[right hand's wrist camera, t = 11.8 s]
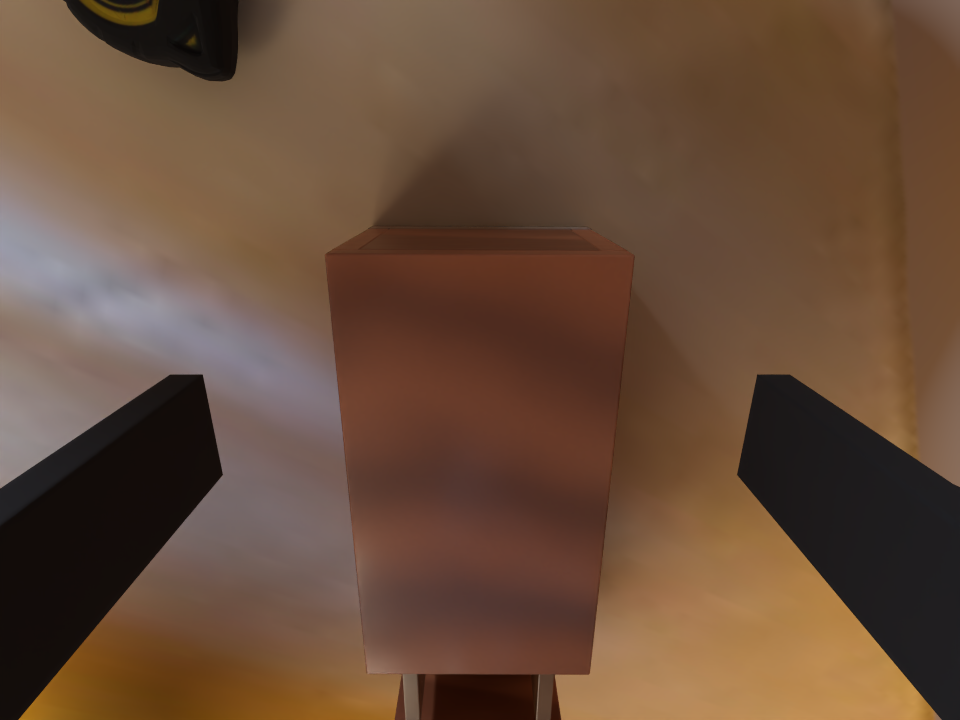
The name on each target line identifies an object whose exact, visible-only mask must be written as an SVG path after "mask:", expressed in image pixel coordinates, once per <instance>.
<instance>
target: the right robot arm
mask: <svg viewBox="0 0 960 720" xmlns="http://www.w3.org/2000/svg"><path fill="white" fill-rule="evenodd" d="M222 475H223V473H222V468H221V463H220V458H219V454H218V449H217V444H216V439H215V434H214V429H213V424H212V419H211V414H210V409H209V404H208V399H207V394H206V389H205V384H204V379H203V375H169V376H168V377H166V378H165V379H163V380H162V381H160V382H159V383H157V384H156V385H154V386H153V387H151V388H150V389H148V390H147V391H145V392H144V393H142V394H141V395H139V396H138V397H136V398H135V399H133V400H132V401H130V402H129V403H127V404H126V405H124V406H123V407H121V408H120V409H118V410H117V411H115V412H114V413H112V414H111V415H109V416H108V417H106V418H105V419H103V420H102V421H100V422H99V423H97V424H96V425H94V426H93V427H91V428H90V429H88V430H87V431H85V432H84V433H82V434H81V435H80V436H78V437H77V438H75V439H74V440H72V441H71V442H69V443H68V444H66V445H65V446H63V447H62V448H60V449H59V450H57V451H56V452H54V453H53V454H51V455H50V456H48V457H47V458H45V459H44V460H42V461H41V462H39V463H38V464H36V465H35V466H33V467H32V468H30V469H29V470H27V471H26V472H24V473H23V474H21V475H20V476H18V477H17V478H15V479H14V480H12V481H11V482H9V483H8V484H6V485H5V486H3V487H2V488H0V720H18V719H19V718H20V717H21V716H22V715H23V713H24V712H25V711H26V710H27V709H28V707H29V706H30V705H31V704H32V703H33V701H34V700H35V699H36V698H37V697H38V695H39V694H40V693H41V692H42V691H43V689H44V688H45V687H46V686H47V685H48V683H49V682H50V681H51V680H52V679H53V677H54V676H55V675H56V674H57V673H58V671H59V670H60V669H61V668H62V667H63V666H64V664H65V663H66V662H67V661H68V660H69V658H70V657H71V656H72V655H73V654H74V652H75V651H76V650H77V649H78V648H79V646H80V645H81V644H82V643H83V642H84V640H85V639H86V638H87V637H88V636H89V634H90V633H91V632H92V631H93V630H94V628H95V627H96V626H97V625H98V624H99V622H100V621H101V620H102V619H103V618H104V616H105V615H106V614H107V613H108V612H109V610H110V609H111V608H112V607H113V606H114V604H115V603H116V602H117V601H118V600H119V598H120V597H121V596H122V595H123V594H124V592H125V591H126V590H127V589H128V588H129V587H130V585H131V584H132V583H133V582H134V581H135V579H136V578H137V577H138V576H139V575H140V573H141V572H142V571H143V570H144V569H145V567H146V566H147V565H148V564H149V563H150V561H151V560H152V559H153V558H154V557H155V555H156V554H157V553H158V552H159V551H160V549H161V548H162V547H163V546H164V545H165V543H166V542H167V541H168V540H169V539H170V537H171V536H172V535H173V534H174V533H175V531H176V530H177V529H178V528H179V527H180V525H181V524H182V523H183V522H184V521H185V519H186V518H187V517H188V516H189V515H190V514H191V512H192V511H193V510H194V509H195V508H196V506H197V505H198V504H199V503H200V502H201V500H202V499H203V498H204V497H205V496H206V494H207V493H208V492H209V491H210V490H211V488H212V487H213V486H214V485H215V484H216V482H217V481H218V480H219V479H220V478H221V476H222ZM737 475H738V476H739V478H740V479H741V480H742V481H743V482H744V484H745V485H746V486H747V487H748V488H749V490H750V491H751V492H752V493H753V494H754V496H755V497H756V498H757V499H758V500H759V502H760V503H761V504H762V505H763V506H764V508H765V509H766V510H767V511H768V512H769V514H770V515H771V516H772V517H773V518H774V519H775V521H776V522H777V523H778V524H779V525H780V527H781V528H782V529H783V530H784V531H785V533H786V534H787V535H788V536H789V537H790V539H791V540H792V541H793V542H794V543H795V545H796V546H797V547H798V548H799V549H800V551H801V552H802V553H803V554H804V555H805V557H806V558H807V559H808V560H809V561H810V563H811V564H812V565H813V566H814V567H815V569H816V570H817V571H818V572H819V573H820V575H821V576H822V577H823V578H824V579H825V581H826V582H827V583H828V584H829V585H830V587H831V588H832V589H833V590H834V591H835V592H836V594H837V595H838V596H839V597H840V598H841V600H842V601H843V602H844V603H845V604H846V606H847V607H848V608H849V609H850V610H851V612H852V613H853V614H854V615H855V616H856V618H857V619H858V620H859V621H860V622H861V624H862V625H863V626H864V627H865V628H866V630H867V631H868V632H869V633H870V634H871V636H872V637H873V638H874V639H875V640H876V642H877V643H878V644H879V645H880V646H881V648H882V649H883V650H884V651H885V652H886V654H887V655H888V656H889V657H890V658H891V660H892V661H893V662H894V663H895V664H896V666H897V667H898V668H899V669H900V670H901V671H902V673H903V674H904V675H905V676H906V677H907V679H908V680H909V681H910V682H911V683H912V685H913V686H914V687H915V688H916V689H917V691H918V692H919V693H920V694H921V695H922V697H923V698H924V699H925V700H926V701H927V703H928V704H929V705H930V706H931V707H932V709H933V710H934V711H935V712H936V713H937V715H938V716H939V717H940V718H941V719H942V720H960V487H958V486H956V485H954V484H952V483H951V482H949V481H948V480H946V479H945V478H943V477H942V476H940V475H939V474H937V473H936V472H934V471H933V470H931V469H930V468H928V467H927V466H925V465H924V464H922V463H921V462H919V461H918V460H916V459H915V458H913V457H912V456H910V455H909V454H907V453H906V452H904V451H903V450H901V449H900V448H898V447H897V446H895V445H894V444H892V443H891V442H889V441H888V440H886V439H885V438H883V437H882V436H880V435H879V434H878V433H876V432H875V431H873V430H872V429H870V428H869V427H867V426H866V425H864V424H863V423H861V422H860V421H858V420H857V419H855V418H854V417H852V416H851V415H849V414H848V413H846V412H845V411H843V410H842V409H840V408H839V407H837V406H836V405H834V404H833V403H831V402H830V401H828V400H827V399H825V398H824V397H822V396H821V395H819V394H818V393H816V392H815V391H813V390H812V389H810V388H809V387H807V386H806V385H804V384H803V383H801V382H800V381H798V380H797V379H795V378H794V377H792V376H791V375H757V379H756V384H755V389H754V394H753V399H752V404H751V409H750V414H749V419H748V424H747V429H746V434H745V439H744V444H743V449H742V454H741V458H740V463H739V468H738V473H737Z"/></svg>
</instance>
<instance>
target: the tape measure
mask: <svg viewBox="0 0 960 720" xmlns="http://www.w3.org/2000/svg"><path fill="white" fill-rule="evenodd" d="M64 1H65V2H66V3H67V6H68V8H69V9H70V11H71V12H72V13H73V15H74V16H75V17H76V18H77V19H78V20H79V22H80V23H81V24H82V25H83V26H85V27H86V28H87V29H88V30H89V31H90V32H91V33H93V34H94V35H95V36H97V37H98V38H99V39H101V40H103V41H105V42H106V43H107V44H109V45H110V46H112V47H113V48H115V49H117V50H119V51H121V52H123V53H125V54H127V55H129V56H132V57H134V58H137V59H139V60H142V61H145V62H148V63H152V64H156V65H161V66H167V67H180V68H182V69H184V70H185V71H187V72H189V73H191V74H193V75H195V76H197V77H200V78H202V79H205V80H208V81H226V80H230V79H231V78H232V77H233V75H234V74H235V70H236V64H237V54H238V27H237V12H238V1H239V0H64Z"/></svg>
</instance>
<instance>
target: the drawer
mask: <svg viewBox="0 0 960 720" xmlns="http://www.w3.org/2000/svg"><path fill="white" fill-rule="evenodd" d="M395 720H561V715H560V708H559V702H558V695H557V688H556V681H555V674H402V676H401V683H400V689H399V696H398V702H397V709H396V715H395Z"/></svg>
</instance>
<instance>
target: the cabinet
mask: <svg viewBox="0 0 960 720" xmlns="http://www.w3.org/2000/svg"><path fill="white" fill-rule="evenodd" d="M634 258H635V257H634V255H633V254H631V253H630V252H628V251H627V250H625V249H624V248H622V247H620V246H618V245H617V244H615V243H613V242H611V241H610V240H608V239H606V238H604V237H603V236H601V235H599V234H597V233H596V232H594V231H592V230H591V229H590V228H588V227H477V226H372V227H370V228H368V230H366V231H364V232H363V233H361V234H359V235H357V236H355V237H354V238H352V239H350V240H348V241H347V242H345V243H343V244H341V245H339V246H338V247H336V248H334V249H332V250H331V251H330V252H328V253H326V254H325V260H326V270H327V280H328V290H329V300H330V310H331V320H332V330H333V340H334V351H335V361H336V371H337V381H338V391H339V401H340V411H341V421H342V431H343V441H344V451H345V461H346V471H347V481H348V491H349V501H350V511H351V521H352V531H353V541H354V551H355V561H356V571H357V581H358V591H359V601H360V611H361V621H362V631H363V641H364V652H365V662H366V672H367V674H560V675H588V674H590V667H591V657H592V648H593V639H594V629H595V620H596V611H597V602H598V592H599V583H600V574H601V564H602V555H603V546H604V536H605V527H606V518H607V509H608V499H609V490H610V481H611V471H612V462H613V453H614V444H615V434H616V425H617V416H618V406H619V397H620V388H621V378H622V369H623V360H624V351H625V341H626V332H627V323H628V313H629V304H630V295H631V285H632V276H633V267H634Z"/></svg>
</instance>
